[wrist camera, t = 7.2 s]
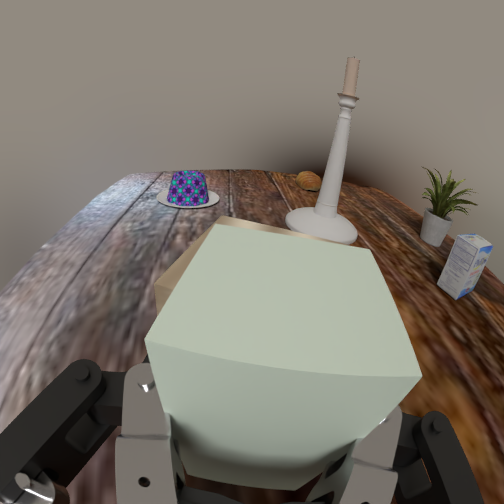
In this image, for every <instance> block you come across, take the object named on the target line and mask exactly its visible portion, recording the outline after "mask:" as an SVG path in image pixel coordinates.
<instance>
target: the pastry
mask: <svg viewBox="0 0 504 504" xmlns="http://www.w3.org/2000/svg"><path fill="white" fill-rule="evenodd" d="M296 184H297V185H298V186H299V187H301V188H302V189H305V190H313V191H318V190H319V189H320V188H321V185H322V184H321V180H320V177H319V176H317V175H315V174H314V173H312V172H310V171H306V172H301V173H300V174H299V175H298V176H297V178H296Z"/></svg>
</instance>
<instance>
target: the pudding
mask: <svg viewBox="0 0 504 504" xmlns="http://www.w3.org/2000/svg"><path fill="white" fill-rule="evenodd" d="M166 198H167V199H168V202H167V201H166ZM209 199H210V201H209V202H208V200H209ZM157 200H158V201H159V202H161V203H163V204H166V205H169V206H173V207H180V208H199V207H205V206H210V205H213V204H215V203H217V202H218V201H219V196H218V195H217V194H216V193H214V192H212V191H209V190H207V185H206V179H205V175H204V174H203V173H200V172H197V171H179V172H176V173H175V174H174V175H173V177H172V181H171V184H170V188H169V189H168V190H164V191H162V192H160V193H159V194H158V195H157ZM207 202H208V203H207ZM170 203H175V204H176V205H173V204H170ZM200 204H204V205H200ZM177 205H179V206H177ZM187 205H188V206H192V207H186V206H187ZM198 205H200V206H198Z"/></svg>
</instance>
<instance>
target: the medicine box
mask: <svg viewBox="0 0 504 504" xmlns="http://www.w3.org/2000/svg"><path fill="white" fill-rule="evenodd" d="M492 247H493V246H492V245H491V244H490V243H489V242H488V241H486V240H485V239H483V238H482V237H480V236H478V235H476V234H466V235H458V236H457V238H456V240H455V243H454V245H453V248H452V250H451V253H450V255H449V258H448V260H447V262H446V265H445V267H444V269H443V271H442V274H441V276H440V278H439V280H438V282H437V285H438V286H439V287H440V288H441V289H442V290H444V291H445V292H446V293H447V294H449V295H450V296H451V297H452V298H453V299H454V300H457V299H458V298H460V297H462V296H464V295H465V294H467V293H469V292H470V291H472V290H473V288H474V287H475V285H476V283H477V281H478V279H479V277H480V274H481V272H482V270H483V268H484V266H485V264H486V262H487V259H488V257H489V255H490V252H491V250H492Z"/></svg>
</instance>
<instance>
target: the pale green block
mask: <svg viewBox="0 0 504 504" xmlns="http://www.w3.org/2000/svg"><path fill="white" fill-rule="evenodd" d="M145 344H146V348H147V352H148V357H149V361H150V365H151V369H152V372H153V376H154V380H155V383H156V387H157V390H158V394H159V397H160V400H161V404H162V407H163V410H164V412H166V413H170V417H171V420H172V430H173V439H176V440H178V442H179V446H180V454H181V460H182V463H183V465H184V467H185V470H186V472H187V474H188V475H191V476H195V477H200V478H204V479H208V480H213V481H218V482H223V483H229V484H235V485H242V486H249V487H257V488H266V489H278V490H297V489H298V488H300V487H301V486H303V485H304V484H306V483H307V482H309V481H310V480H312V479H313V478H315V477H316V476H317V475H319V474H320V473H322V472H323V471H324V469H325V466H326V464H328V463H329V462H330V461H337V460H339V459H340V458H341V457H342V456H344V455H345V454H346V453H347V452H348V450H349V447H350V444H351V443H352V442H354V441H355V440H356V439H357V438H365V437H366V436H367V435H368V434H369V433H370V432H371V431H372V430H373V429H374V428H375V427H376V426H377V425H378V424H379V423H380V422H382V421H383V420H384V419H385V418H386V417H387V415H388V414H389V413H390V412H391V411H392V410H393V409H394V408H395V407H396V406H397V405H398V404H399V403H400V402H401V401H402V400H403V398H404V397H405V396H406V395H407V394H408V393H409V392H410V390H411V389H412V388H413V387H414V386H415V385H416V383H417V382H418V381H419V380H420V379H421V377H422V373H421V370H420V367H419V364H418V362H417V359H416V356H415V353H414V350H413V347H412V345H411V342H410V339H409V337H408V334H407V332H406V329H405V327H404V324H403V322H402V319H401V317H400V314H399V312H398V309H397V307H396V305H395V302H394V300H393V298H392V295H391V293H390V291H389V289H388V287H387V284H386V282H385V280H384V278H383V276H382V274H381V271H380V269H379V267H378V265H377V263H376V261H375V259H374V257H373V255H372V253H371V251H370V250H369V249H364V248H358V247H353V246H347V245H342V244H336V243H330V242H325V241H319V240H313V239H308V238H302V237H296V236H290V235H284V234H278V233H272V232H266V231H259V230H253V229H247V228H241V227H234V226H228V225H221V224H215V225H214V226H213V228H212V229H211V231H210V232H209V234H208V235H207V237H206V239H205V240H204V242H203V243H202V245H201V246H200V248H199V249H198V251H197V253H196V254H195V256H194V257H193V259H192V261H191V262H190V264H189V265H188V267H187V269H186V270H185V272H184V273H183V275H182V277H181V278H180V280H179V282H178V283H177V285H176V286H175V288H174V290H173V291H172V293H171V295H170V296H169V298H168V300H167V301H166V303H165V305H164V306H163V308H162V310H161V312H160V313H159V315H158V317H157V318H156V320H155V322H154V323H153V325H152V327H151V329H150V330H149V332H148V334H147V336H146V337H145Z"/></svg>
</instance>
